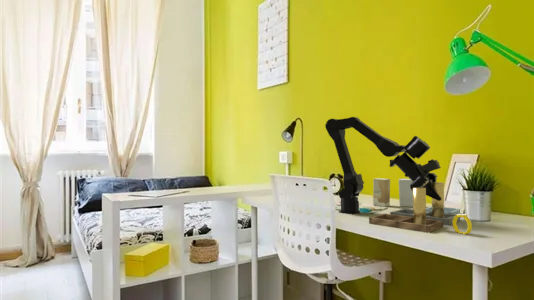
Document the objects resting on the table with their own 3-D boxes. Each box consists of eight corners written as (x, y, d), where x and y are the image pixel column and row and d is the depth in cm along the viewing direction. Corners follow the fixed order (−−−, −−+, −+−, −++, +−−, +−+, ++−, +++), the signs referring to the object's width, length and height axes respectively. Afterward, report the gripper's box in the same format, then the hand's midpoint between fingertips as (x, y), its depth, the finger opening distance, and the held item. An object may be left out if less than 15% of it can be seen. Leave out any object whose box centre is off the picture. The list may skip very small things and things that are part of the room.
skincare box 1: (372, 205, 171) (372, 178, 171) (377, 204, 174) (377, 177, 174) (385, 207, 166) (385, 179, 166) (390, 205, 169) (390, 178, 169)
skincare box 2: (415, 205, 168) (414, 178, 168) (413, 207, 164) (413, 179, 164) (400, 205, 171) (400, 178, 171) (398, 206, 167) (398, 179, 167)
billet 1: (411, 227, 124) (410, 188, 124) (416, 225, 127) (416, 187, 127) (423, 229, 122) (422, 189, 121) (428, 227, 124) (427, 187, 124)
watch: (451, 232, 117) (449, 213, 118) (457, 232, 118) (456, 213, 119) (467, 235, 112) (466, 215, 112) (474, 234, 113) (472, 214, 113)
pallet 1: (369, 223, 132) (369, 217, 132) (385, 218, 139) (384, 213, 139) (429, 232, 117) (429, 226, 117) (443, 227, 124) (443, 221, 124)
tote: (421, 214, 147) (421, 209, 147) (433, 210, 155) (433, 206, 155) (451, 218, 139) (451, 212, 139) (461, 214, 147) (461, 208, 147)
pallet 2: (390, 217, 142) (390, 212, 142) (404, 213, 150) (403, 208, 150) (448, 225, 127) (448, 219, 127) (460, 220, 135) (460, 214, 135)
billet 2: (429, 218, 136) (429, 182, 136) (438, 217, 137) (437, 182, 137) (437, 220, 132) (437, 183, 132) (446, 219, 134) (446, 183, 133)
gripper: (419, 152, 129) (455, 186, 123) (431, 151, 144) (463, 181, 138) (396, 174, 134) (429, 208, 128) (410, 171, 149) (440, 201, 143)
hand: (441, 199), depth 134 cm, fingers open, 4 cm apart
